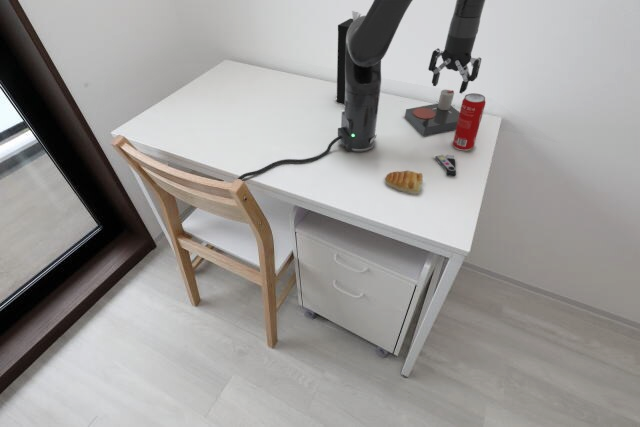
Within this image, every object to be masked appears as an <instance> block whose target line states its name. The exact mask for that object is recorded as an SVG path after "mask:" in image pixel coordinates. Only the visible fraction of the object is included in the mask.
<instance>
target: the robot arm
mask: <svg viewBox="0 0 640 427" xmlns="http://www.w3.org/2000/svg"><path fill="white" fill-rule="evenodd" d="M412 2H413V0H373V2H372V4H371V6H370V7H369V9H368V10H367V12H366V15H360V17H359V18H357V19H355V20H354V21H353V22H352V23H351V25H350V26H349V28H348V31H347V35H346V55H345V104H344V108H343V110H344V111H341V117H340V118H341V120H340V121H341V122H340V127H338V128H337V137H335V138H334V139H333V140H331V142H329V144H328V145H327V148H326V149H325V150H324V151H323V152H322V153H320V154H319V155H315V156H312V157H308V158H302V159H297V158H295V159H291V158H288V159H287V158H285V159H280V160H277V161H274V162H272V163H270V164H268V165H265V166H264V167H262V168H260V169H258V170H254V171H249V172H246V173H243V174H241V175H240V176H239V177H238V178H237V179H241V181H242V180H243V179H245V178H247V177H250V176H255V175H259V174H260V173H264V172H266V171H267V170H269V169H271V168H273V167H275V166H278V165H281V164H285V163H286V164H287V163H296V164H302V163H308V162H313V161H316V160H319V159H321V158H323V157H325V156H326V155H328V154H329V152H330V151H331V149H332V147H333V146H334V144H336V143H337V142H338V141H340V142H341V143H342V145H343V146H344V148H345V150H346V151H347V152H357V153H361V152H362V153H363V152H368V151H371V150H372V149H373V148H374V146H375V143H376V138H377V134H376V131H377V130H376V129H377V121H378V114H379V105H380V96H381V95H380V94H381V88H382V60H383V58H385V56H386V55H387V52H388V50H389V49H390V45H391V44H392V41H393V38H394V37H395V35H396V32H397V30H398V28H399V26H400V24H401V22H402V20H403V17H404V16H405V14H406V12H407V10H408V8H409V7H410V5H411V3H412ZM485 3H486V0H456V2H455V6H454V10H453V14H452V17H451V20H450V24H449V27H448V32H447V37H446V41H445V45H444V50H441V49H440V48H438V47H437V48H436V49H435V50H433V51H432V53H431V57H430V61H429V65H428V68H427V70H428V71H430V72H432V73H433V75H432V79H431V84H432V86H433V87H437V85H438V83H439V79H440V76H441V71H442V70H443V69H444V68H446V69H447V70H452V71H454V72H458V73H459V75H460V76H461V77H462V81H461V84H460V88H459V92H458V93H459V94H463V93H465V92H466V90H467V89H468V85H469V82H474V81H475V80H476V79H478V75H479V72H480V69H481V68H480V67H481V63H482V58H481V57H480V56H479V57H477V58H476V57H472V52H473V48H474V45H475V42H476V38H477V35H478V32H479V28H480V23H481V17H482V13H483V11H484V10H483V9H484V6H485ZM439 58H441V59H442V63H441V64H440V65H439V66H438V67H437V62H438V59H439ZM469 63H470V64H471V67H472V69H471V74H470V71H469V67H468V64H469Z"/></svg>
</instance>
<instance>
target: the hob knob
mask: <svg viewBox="0 0 640 427" xmlns="http://www.w3.org/2000/svg"><path fill="white" fill-rule="evenodd" d="M454 96H455V91H454V90H453V89H452V90H451V89H443V90H441V91H440V94H439V98H438V103H437V104H438V106H437V107H438V108H439V109H441V110H449V109H450V107H451V105H452V103H453V99H454Z"/></svg>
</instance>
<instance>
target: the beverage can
mask: <svg viewBox="0 0 640 427" xmlns="http://www.w3.org/2000/svg"><path fill="white" fill-rule="evenodd" d="M485 107H486V97H485V95H483V94H480V93H468V94H466V95H464V98H463V99H462V101H461V105H460V110H459V112H460V114H459V119H458V123H457V128H456V130H455V132H454V137H453V142H452V145H453V147H454V148H455V149H457V150H459V151H469V150H472V149H473V148H474V146H475V144H476V139H477V136H478V132H479V129H480V125H481V121H482V117H483V114H484V110H485Z"/></svg>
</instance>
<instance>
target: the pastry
mask: <svg viewBox="0 0 640 427" xmlns="http://www.w3.org/2000/svg"><path fill="white" fill-rule="evenodd" d="M423 177H424V174H423V173H422V172H416V171H411V170H407V169H406V170H402V171H397V170H396V171H393V172H389V173H388V174H386V176H385V177H384V180H385V183H386V185H387V186H389V187H390V188H392V189H395V190H397V191H399V192H402V193H406V194H407V193H408V194H410V195H419V194H420V193H421V191H422V185H423V182H424V179H423Z"/></svg>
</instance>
